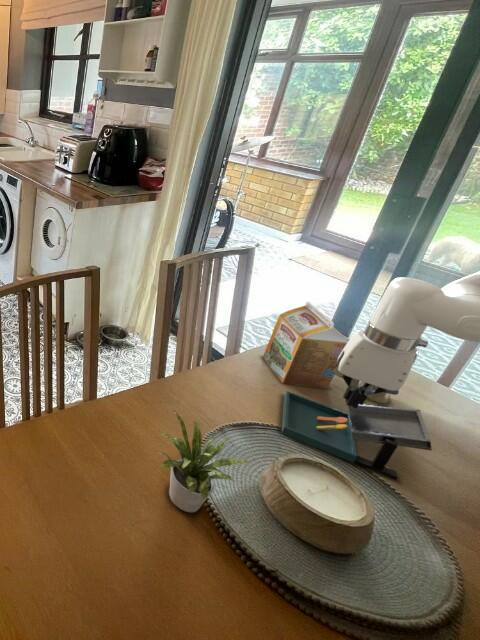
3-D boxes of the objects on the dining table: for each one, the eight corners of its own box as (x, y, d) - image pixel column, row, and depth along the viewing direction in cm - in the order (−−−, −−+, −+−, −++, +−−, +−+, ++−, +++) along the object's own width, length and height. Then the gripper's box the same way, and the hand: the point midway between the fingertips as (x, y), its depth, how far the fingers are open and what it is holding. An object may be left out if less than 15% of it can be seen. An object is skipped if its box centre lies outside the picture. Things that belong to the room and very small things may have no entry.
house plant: (121, 473, 81) (137, 412, 74) (175, 452, 86) (194, 393, 79) (178, 544, 69) (203, 479, 62) (237, 516, 74) (266, 453, 67)
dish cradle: (386, 434, 91) (401, 409, 88) (396, 480, 81) (414, 453, 78) (350, 421, 94) (364, 396, 91) (356, 463, 84) (372, 437, 81)
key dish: (421, 418, 85) (420, 409, 84) (431, 450, 77) (430, 441, 77) (349, 410, 92) (347, 403, 92) (352, 439, 85) (351, 431, 84)
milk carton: (327, 388, 104) (358, 325, 96) (282, 383, 106) (309, 321, 98) (303, 361, 114) (330, 302, 106) (262, 357, 115) (285, 299, 107)
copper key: (349, 418, 90) (348, 417, 90) (346, 424, 89) (346, 423, 89) (319, 416, 95) (318, 414, 95) (316, 421, 93) (316, 420, 93)
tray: (348, 420, 95) (351, 414, 94) (353, 462, 84) (357, 456, 83) (284, 396, 101) (286, 390, 100) (281, 433, 91) (284, 427, 90)
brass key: (348, 425, 88) (347, 423, 88) (347, 429, 87) (346, 427, 87) (318, 427, 92) (317, 425, 92) (316, 430, 91) (315, 428, 91)
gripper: (437, 341, 82) (393, 409, 90) (341, 315, 90) (308, 379, 98) (446, 360, 76) (399, 431, 84) (343, 330, 85) (309, 397, 92)
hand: (350, 403), depth 91 cm, fingers closed
